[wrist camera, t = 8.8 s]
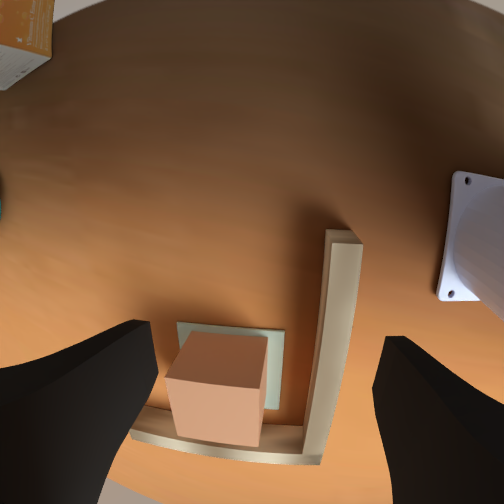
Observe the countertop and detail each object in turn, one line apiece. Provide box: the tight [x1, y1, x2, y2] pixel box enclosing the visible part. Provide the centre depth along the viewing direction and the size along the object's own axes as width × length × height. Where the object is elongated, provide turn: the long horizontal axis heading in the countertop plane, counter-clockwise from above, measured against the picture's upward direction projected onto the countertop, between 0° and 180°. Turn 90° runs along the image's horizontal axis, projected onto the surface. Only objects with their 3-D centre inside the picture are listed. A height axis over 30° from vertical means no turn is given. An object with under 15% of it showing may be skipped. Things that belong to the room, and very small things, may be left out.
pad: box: [177, 322, 285, 410], centre depth 20 cm, size 7×7×1 cm
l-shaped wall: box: [129, 229, 363, 465], centre depth 19 cm, size 15×17×3 cm
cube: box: [164, 331, 268, 447], centre depth 18 cm, size 5×5×5 cm
